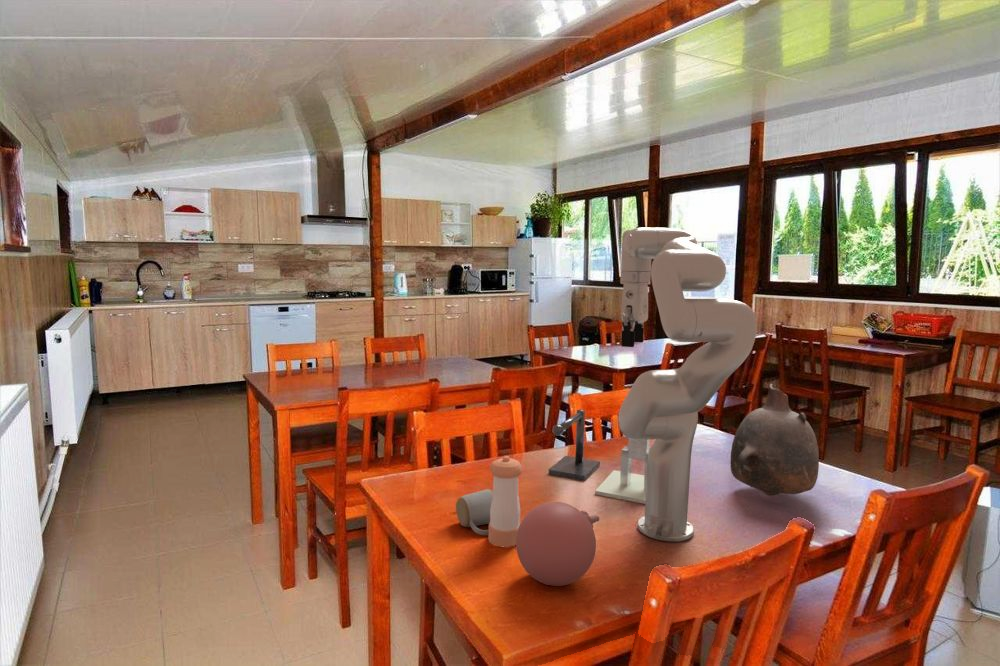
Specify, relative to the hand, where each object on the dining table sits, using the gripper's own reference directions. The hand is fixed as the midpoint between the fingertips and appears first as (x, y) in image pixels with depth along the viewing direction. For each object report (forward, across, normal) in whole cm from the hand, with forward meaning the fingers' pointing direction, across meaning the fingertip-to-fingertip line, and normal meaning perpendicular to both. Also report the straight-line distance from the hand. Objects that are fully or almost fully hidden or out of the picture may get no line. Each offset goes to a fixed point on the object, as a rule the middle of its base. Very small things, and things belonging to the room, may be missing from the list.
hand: (632, 344), depth 160 cm
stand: (+40, +5, +18) cm, 44 cm away
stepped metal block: (+39, +4, -2) cm, 40 cm away
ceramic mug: (+41, -36, +25) cm, 60 cm away
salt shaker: (+40, -40, +17) cm, 59 cm away
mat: (+40, +4, -2) cm, 41 cm away
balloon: (+40, -49, 0) cm, 63 cm away
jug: (+40, +17, -35) cm, 56 cm away
